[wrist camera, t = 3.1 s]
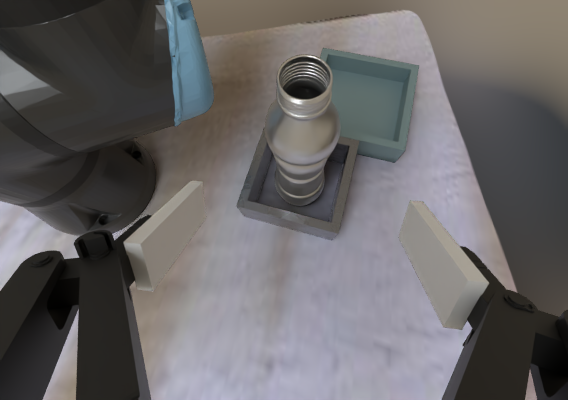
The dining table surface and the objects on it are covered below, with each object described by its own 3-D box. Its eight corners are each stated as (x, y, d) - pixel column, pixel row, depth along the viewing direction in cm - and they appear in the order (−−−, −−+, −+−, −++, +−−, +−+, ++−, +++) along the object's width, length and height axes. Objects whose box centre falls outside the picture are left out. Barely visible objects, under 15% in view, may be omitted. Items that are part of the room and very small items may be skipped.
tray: (298, 140, 37) (298, 126, 34) (320, 66, 41) (322, 47, 38) (394, 162, 35) (405, 150, 32) (408, 83, 39) (419, 65, 36)
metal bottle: (319, 162, 36) (347, 31, 17) (325, 208, 34) (365, 117, 15) (274, 166, 36) (251, 40, 17) (277, 212, 34) (256, 127, 15)
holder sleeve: (244, 216, 34) (236, 206, 29) (270, 140, 37) (266, 119, 33) (332, 240, 33) (338, 233, 28) (350, 158, 36) (359, 140, 31)
